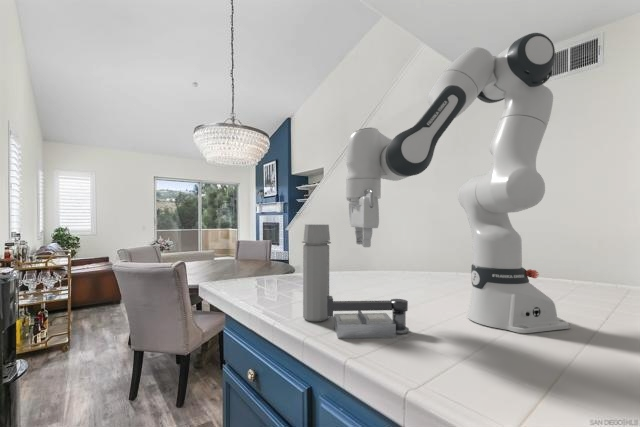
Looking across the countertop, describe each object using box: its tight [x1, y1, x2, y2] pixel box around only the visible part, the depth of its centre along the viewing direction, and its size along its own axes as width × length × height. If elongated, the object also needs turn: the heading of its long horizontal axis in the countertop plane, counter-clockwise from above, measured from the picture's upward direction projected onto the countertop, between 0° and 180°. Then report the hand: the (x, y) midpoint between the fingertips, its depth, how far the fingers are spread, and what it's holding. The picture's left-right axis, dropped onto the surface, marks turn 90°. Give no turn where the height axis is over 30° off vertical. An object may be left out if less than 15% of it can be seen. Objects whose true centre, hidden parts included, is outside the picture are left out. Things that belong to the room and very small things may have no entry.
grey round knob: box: [391, 310, 410, 335], centre depth 71 cm, size 4×4×4 cm
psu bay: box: [333, 311, 397, 339], centre depth 71 cm, size 13×8×4 cm, turn 93°
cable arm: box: [327, 295, 409, 318], centre depth 71 cm, size 19×4×4 cm, turn 93°
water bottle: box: [301, 223, 332, 323], centre depth 81 cm, size 9×8×25 cm
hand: (362, 245), depth 77 cm, fingers open, 8 cm apart
